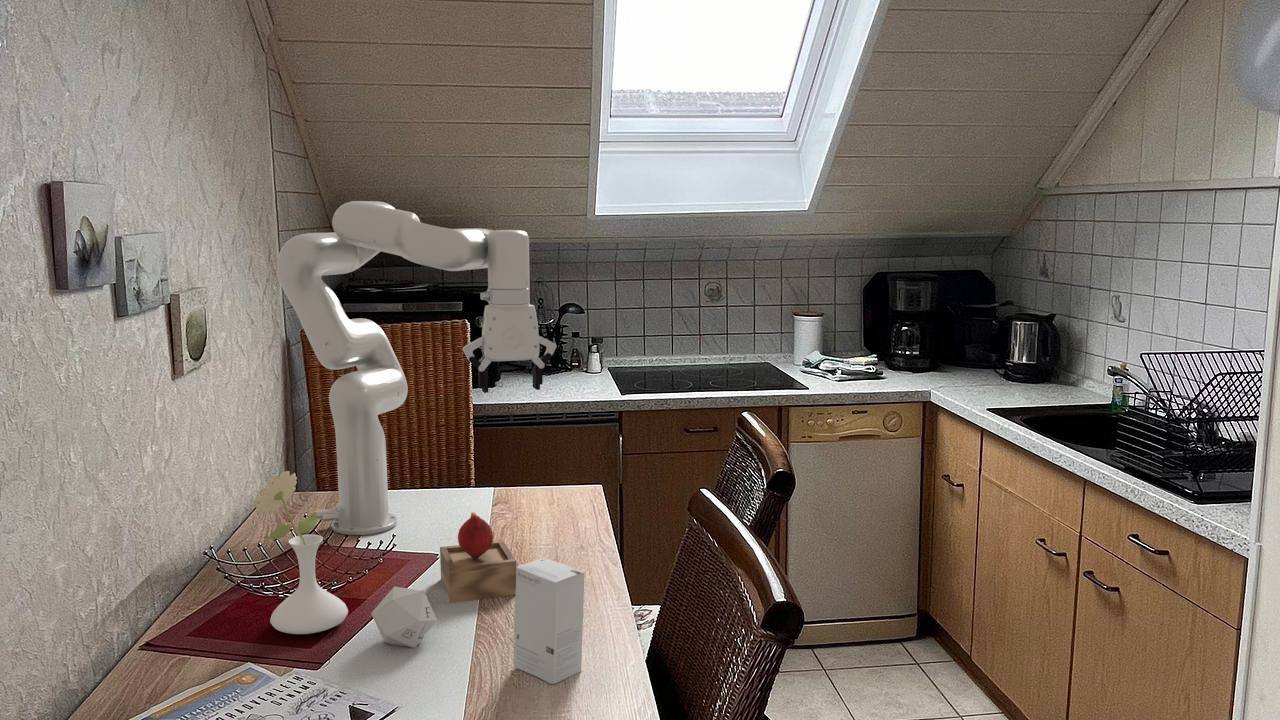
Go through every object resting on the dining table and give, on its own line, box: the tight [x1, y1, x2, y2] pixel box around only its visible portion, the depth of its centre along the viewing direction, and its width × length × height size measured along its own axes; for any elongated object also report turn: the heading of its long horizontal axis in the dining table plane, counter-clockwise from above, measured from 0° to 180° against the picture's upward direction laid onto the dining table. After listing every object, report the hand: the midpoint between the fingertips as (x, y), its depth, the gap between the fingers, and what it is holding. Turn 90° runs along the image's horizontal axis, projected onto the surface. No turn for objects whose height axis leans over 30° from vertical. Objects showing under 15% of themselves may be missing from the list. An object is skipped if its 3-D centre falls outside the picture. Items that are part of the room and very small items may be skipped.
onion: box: [457, 512, 494, 559], centre depth 168 cm, size 6×6×8 cm
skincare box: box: [513, 557, 585, 685], centre depth 137 cm, size 8×6×15 cm
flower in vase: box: [252, 470, 349, 635], centre depth 151 cm, size 13×11×25 cm
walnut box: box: [439, 539, 517, 604], centre depth 169 cm, size 11×11×6 cm
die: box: [370, 586, 438, 649], centre depth 147 cm, size 8×9×10 cm
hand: (510, 390), depth 184 cm, fingers open, 9 cm apart
